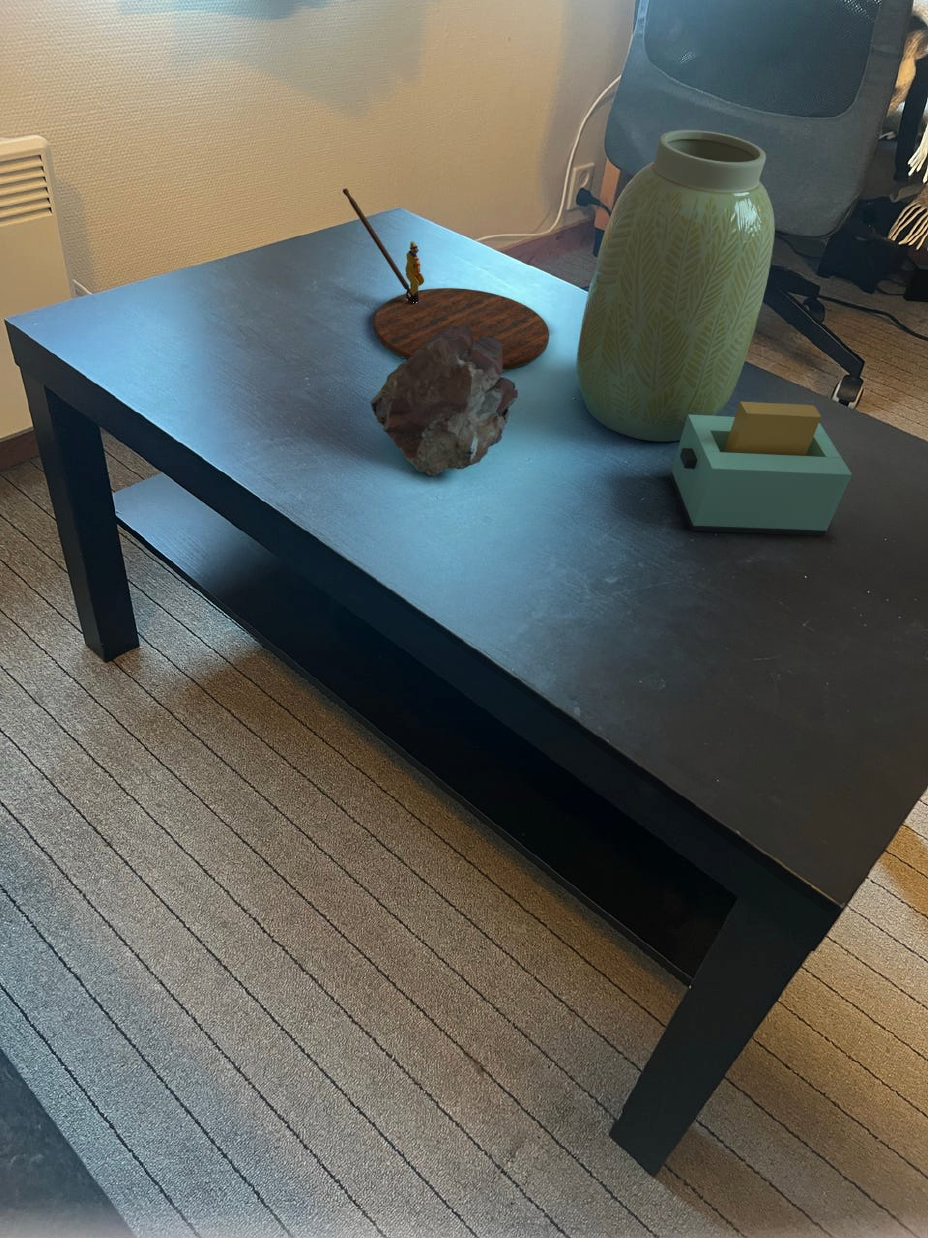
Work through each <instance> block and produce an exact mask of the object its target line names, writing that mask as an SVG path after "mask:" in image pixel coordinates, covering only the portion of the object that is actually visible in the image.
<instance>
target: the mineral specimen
mask: <svg viewBox="0 0 928 1238" xmlns="http://www.w3.org/2000/svg"><path fill="white" fill-rule="evenodd" d="M502 369H503V348H502V343H501V341H500V340H499V339H494V338H489V337H484V336H482V337H481V338H479V339H478V340H477V341H476V342H475V343H473V332H472V331H471V330H470V329H469V328H468V327H463V326H456V325H454V326H453V327H452V328H451V329H448V330H446V329H442V330H440V331H439V332H438V333H437V334H436V335H435V336H434V337H432V338H431V339H430V340H428V341H427V342H425V343H424V344H423V345H422V346H421V347H420V348H418V350H417V351H416V352H415V355H414V356H412V357H410V358H409V359H408V360H407V361H406V362H402V363H400V364H399V365H397V367H396V368H395V369H394V370H393V371H391V372H390V373H389V374H388V375H387V376H386V377H387V378H386V381H385V382H384V384H383V385H382V386H381V388H380V389H379V391H378V392H377V393H376V395H375V396H374V397H373V398H372V399H371V400H370V402H369V404H370V406H371V410H372V412H373V415H374V416H375V418H376V421H377V423H378V424H380V425H381V426H382V431H384V433H385V434H386V435H388V436H389V437H390V438H391V439H392V441H393V442H394V444H395V446H396V448H397V449H398V450H399V451H400V452H402V453H403V457H404V458H405V460H406V461H408V462H409V463H410V464H411V465H413V467H414V468H415V471H417V472H419V473H426V474H427V475H428V476H430V477H436V476H438V474H439V473H443V472H444V471H446V470H450V469H457V470H464V469H466V468H469V467H470V466H473V465H475V464H478V463H480V462H481V460H482V459H483V458H484V457H485V456H486V455H487V454H488V452H489V448H490V447H493V446H494V445H497V444H498V443H499V442H500V441H501V440H502V437H503V436H502V435H503V433H504V430H505V427H506V425H507V423H508V420H509V416H510V414H511V410H510V409H509V408H510V407H511V406H513V404H514V403H515V402H516V400H517V399H518V397H519V391H518V389H516V383H515V382H514V381H513V380H511V379H510V378H508V377H503V376H502V373H503V370H502Z"/></svg>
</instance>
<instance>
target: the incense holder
mask: <svg viewBox="0 0 928 1238" xmlns="http://www.w3.org/2000/svg"><path fill="white" fill-rule="evenodd" d="M342 193H343V194H344V195H345V197H346V198H347V199H348V202H349V204H350V205H351V207H352V209H353V211H354V212H355V213H356V215H357V217H358V218H359V220H360V221H361V223H362V224H363V226H364V227H365V229H366V231H367V232H368V234H369V236H370V237H371V238H372V240H373V242H374V243H375V245H376V246H377V248H378V249H379V251H380V253H381V254H382V256H383V257H384V259H385V260H386V262H387V264H388V265H389V267H390V268H391V270H392V272H393V273H394V274H395V276H396V278H397V279H398V281H399V282H400V284H401V286H402V287H403V289H404V290H406V292H405V293H403V294H400V295H397V296H395V297H393V298H391V299H389V300H387V301H386V302H385V303H383V305H381V306H380V307H379V308H378V310H377V311H376V313H375V315H374V319H373V329H374V333H375V335H376V337H377V339H378V340H379V341H380V343H381V344H382V345H383V346H384V347H386V348H387V349H388V350H389V351H391V352H392V353H393V354H396V355H397V356H399V357H401V358H403V359H404V360H407V361H408V359H409V358H410V357H412V356H414V355H415V352H416V351H417V350H418V348H420V347H421V346H422V345H423V344H424V343H425V342H427V341H428V340H430V339H431V338H432V337H434V336H435V335H436V334H437V333H438V332H439V331H440V330H442V329H446V330H448V329H451V328H452V327H453V326H454V325H456V326H463V327H468V328H469V329H470V330H471V331H472V332H473V343H475V342H476V341H477V340H478V339H479V338H481V337H482V336H484V337H489V338H494V339H499V340H500V341H501V343H502V348H503V369H502V371H507V370H511V369H515V368H518V367H519V368H520V367H522V366H525V365H528V364H529V363H531V362H533V361H535V360H536V359H537V358H540V356H541V355H542V354H544V352H545V351H546V349H547V348H548V345H549V342H550V341H549V340H550V330H549V327H548V324H547V323H546V321H545V320H544V318H543V317H541V316H540V315H539V313H538V312H536V311H534V309H532V308H530V307H529V306H527V305H525V304H523V303H521V302H519V301H517V300H514V299H512V298H509V297H507V296H503V295H500V294H496V293H492V292H488V291H483V290H476V289H469V288H459V287H458V288H456V287H441V288H438V287H437V288H426V289H425V288H424V289H419V288H420V286H421V285H424V283H425V277H424V276H423V274H422V273H421V263H420V258H419V257H418V255H417V254H418V252H419V251H420V250H419V249H418V245H417V244H416V243H415V241H414V240H412V241H410V244H409V250H408V252H407V253H406V265H405V267H404V268H405V269H404V270H405V277H406V279H407V280H406V279H405V277H404V276H403V274H402V272H401V271H400V269H399V268H398V266H397V265H396V263H395V262H394V260H393V258H392V257H391V255H390V254H389V252H388V250H387V249H386V247H385V245H384V244H383V243H382V241H381V240H380V238H379V237H378V235H377V234H376V232H375V230H374V228H373V227H372V225H371V224H370V222H369V221H368V219H367V217H366V216H365V214H364V213H363V211H362V210H361V208H360V206H359V205H358V203H357V202H356V200H355V199H354V197H352V196H351V194H350V191H349V189H348V188H343V189H342ZM407 281H408V282H409V283H408V282H407ZM407 299H408V300H407ZM413 302H414V303H413ZM416 302H417V303H416Z"/></svg>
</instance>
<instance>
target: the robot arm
mask: <svg viewBox="0 0 928 1238" xmlns="http://www.w3.org/2000/svg"><path fill="white" fill-rule="evenodd" d="M902 299H904V300H905V302H915V303H926V304H927V303H928V265H923V264H916V265H915V267H914V269H913V272H912V274H911V276H910V279H909V281H908V284H907V285H906V288H905V290H904V293H903V295H902Z"/></svg>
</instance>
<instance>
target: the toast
mask: <svg viewBox="0 0 928 1238" xmlns="http://www.w3.org/2000/svg"><path fill="white" fill-rule="evenodd" d="M734 417H735V418H734V421H733V424H732V427H731V430H730V433H729V436H728V439H727V442H726V445H725V448H724V451H723V452H726V453H748V454H770V455H791V456H806V454H807V451H808V449H809V446H810V444H811V441H812V439H813V436H814V434H815V431H816V429H817V427H818V424H819V423H820V422H821V419H822V415H821V413H819V411H818V409H817V407H816V406H815V405H814V404H796V403H792V404H791V403H775V402H759V401H758V402H756V401H739V404H738V407H737V409H736V413H735V415H734Z"/></svg>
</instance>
